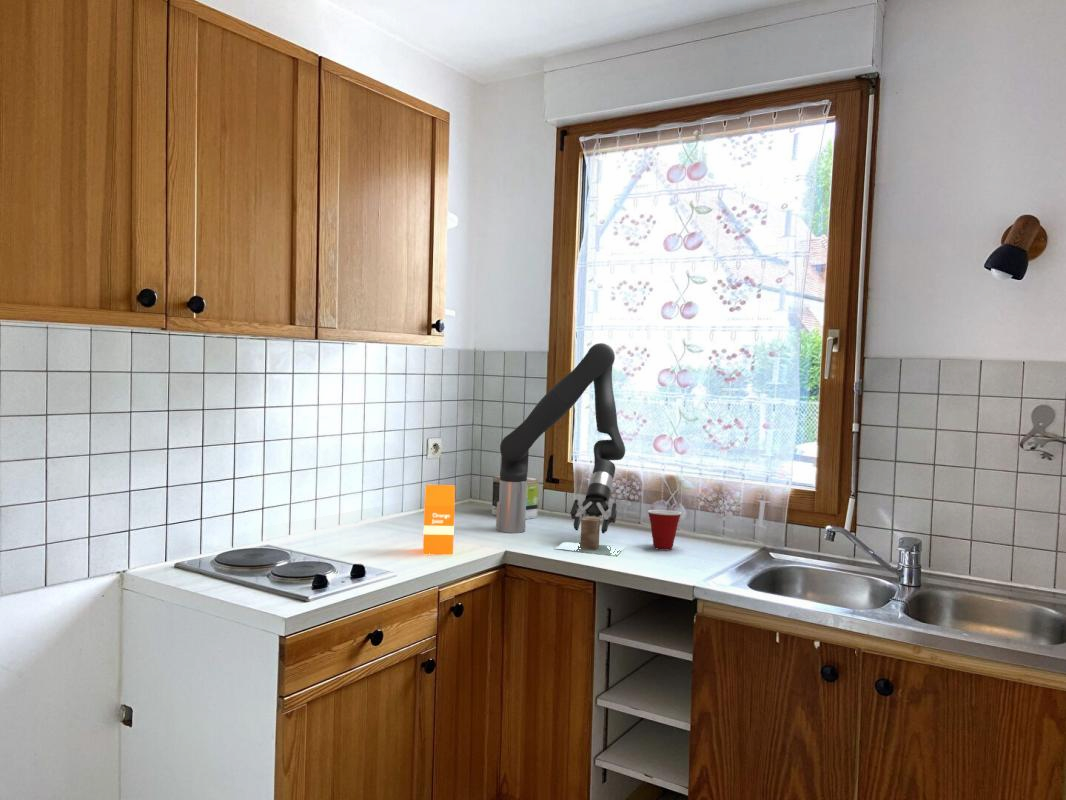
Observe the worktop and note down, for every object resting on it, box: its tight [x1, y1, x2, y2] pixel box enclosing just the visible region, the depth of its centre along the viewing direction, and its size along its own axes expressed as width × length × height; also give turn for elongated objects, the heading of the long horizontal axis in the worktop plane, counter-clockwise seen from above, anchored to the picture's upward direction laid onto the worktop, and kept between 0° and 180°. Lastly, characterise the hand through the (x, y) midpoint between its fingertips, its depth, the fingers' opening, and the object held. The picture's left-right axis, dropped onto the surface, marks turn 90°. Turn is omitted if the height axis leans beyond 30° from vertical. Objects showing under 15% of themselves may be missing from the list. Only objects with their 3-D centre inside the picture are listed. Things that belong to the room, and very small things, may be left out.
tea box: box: [491, 475, 539, 520], centre depth 293 cm, size 15×10×15 cm
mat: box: [573, 542, 620, 556], centre depth 244 cm, size 20×12×1 cm, turn 72°
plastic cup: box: [646, 509, 683, 550], centre depth 249 cm, size 11×11×12 cm
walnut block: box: [579, 517, 601, 550], centre depth 244 cm, size 5×4×9 cm
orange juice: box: [422, 484, 456, 555], centre depth 233 cm, size 8×9×20 cm
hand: (589, 530), depth 243 cm, fingers open, 8 cm apart
